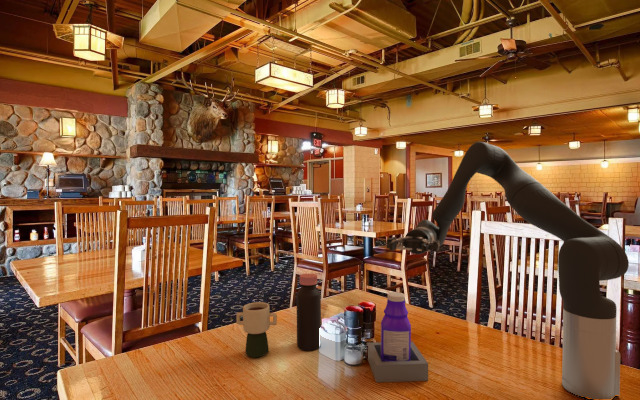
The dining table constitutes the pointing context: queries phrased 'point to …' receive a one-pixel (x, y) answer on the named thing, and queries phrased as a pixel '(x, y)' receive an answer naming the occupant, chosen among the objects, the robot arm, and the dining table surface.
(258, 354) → the character mug
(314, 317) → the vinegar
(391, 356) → the bottle
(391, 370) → the grey square tray
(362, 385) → the dining table surface
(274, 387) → the dining table surface
